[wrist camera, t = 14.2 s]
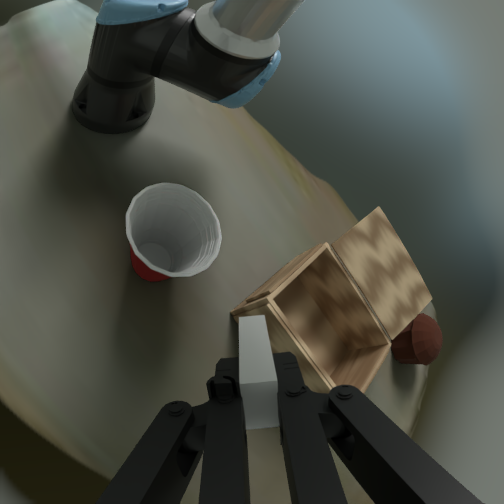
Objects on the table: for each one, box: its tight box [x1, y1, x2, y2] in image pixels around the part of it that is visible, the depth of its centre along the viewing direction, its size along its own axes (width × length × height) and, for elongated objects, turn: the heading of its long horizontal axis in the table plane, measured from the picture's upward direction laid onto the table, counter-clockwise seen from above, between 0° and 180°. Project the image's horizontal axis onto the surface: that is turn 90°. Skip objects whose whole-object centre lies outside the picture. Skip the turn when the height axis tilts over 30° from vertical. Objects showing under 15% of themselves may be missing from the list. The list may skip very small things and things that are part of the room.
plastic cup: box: [126, 182, 222, 282], centre depth 35 cm, size 11×11×12 cm
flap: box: [331, 207, 432, 340], centre depth 44 cm, size 19×1×10 cm
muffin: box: [391, 313, 443, 365], centre depth 56 cm, size 12×11×10 cm
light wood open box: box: [230, 242, 391, 394], centre depth 43 cm, size 21×14×10 cm
